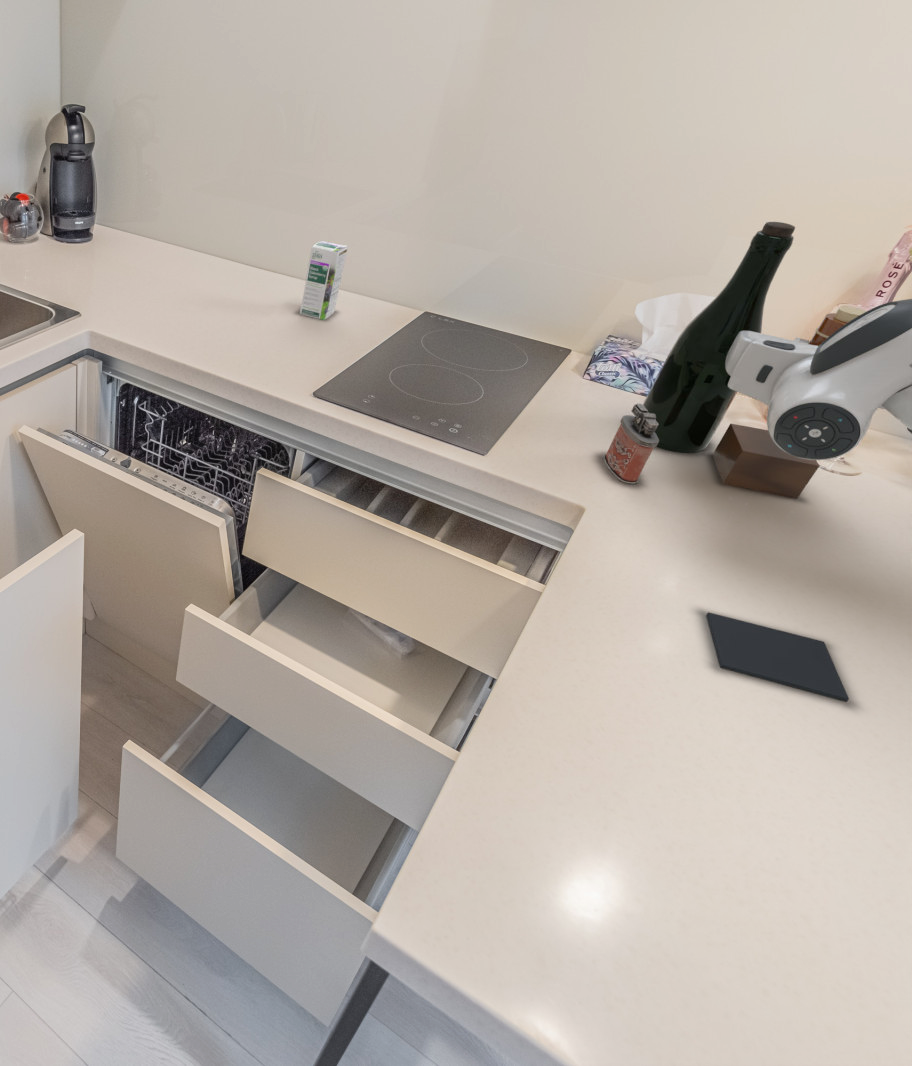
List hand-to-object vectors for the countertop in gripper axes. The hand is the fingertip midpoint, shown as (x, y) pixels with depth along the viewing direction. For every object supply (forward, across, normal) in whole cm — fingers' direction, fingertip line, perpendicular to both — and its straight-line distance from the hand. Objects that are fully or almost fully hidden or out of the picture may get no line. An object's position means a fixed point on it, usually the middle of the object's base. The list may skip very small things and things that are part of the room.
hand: (828, 350), depth 100 cm
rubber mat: (-43, -6, +20) cm, 48 cm away
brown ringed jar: (-1, 0, +6) cm, 6 cm away
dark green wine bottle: (+5, +12, +20) cm, 24 cm away
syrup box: (+15, +79, +20) cm, 83 cm away
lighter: (-12, +15, +20) cm, 28 cm away
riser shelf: (0, 0, +20) cm, 20 cm away
